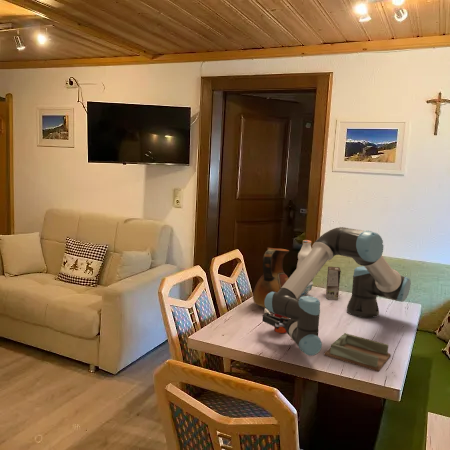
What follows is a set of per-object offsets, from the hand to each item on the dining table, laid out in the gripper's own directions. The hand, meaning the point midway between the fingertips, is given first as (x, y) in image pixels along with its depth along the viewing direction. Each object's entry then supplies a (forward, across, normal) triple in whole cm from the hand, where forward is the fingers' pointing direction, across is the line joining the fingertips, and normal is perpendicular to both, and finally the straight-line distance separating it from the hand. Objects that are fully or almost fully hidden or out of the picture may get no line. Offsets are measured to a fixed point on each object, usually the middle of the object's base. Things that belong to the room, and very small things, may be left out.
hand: (280, 311), depth 186 cm
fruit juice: (+60, +34, -9) cm, 70 cm away
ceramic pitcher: (+28, +5, -8) cm, 30 cm away
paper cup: (-1, 0, -8) cm, 9 cm away
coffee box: (+44, +44, -9) cm, 62 cm away
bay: (-27, +22, -8) cm, 36 cm away
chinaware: (+48, +26, -8) cm, 55 cm away
